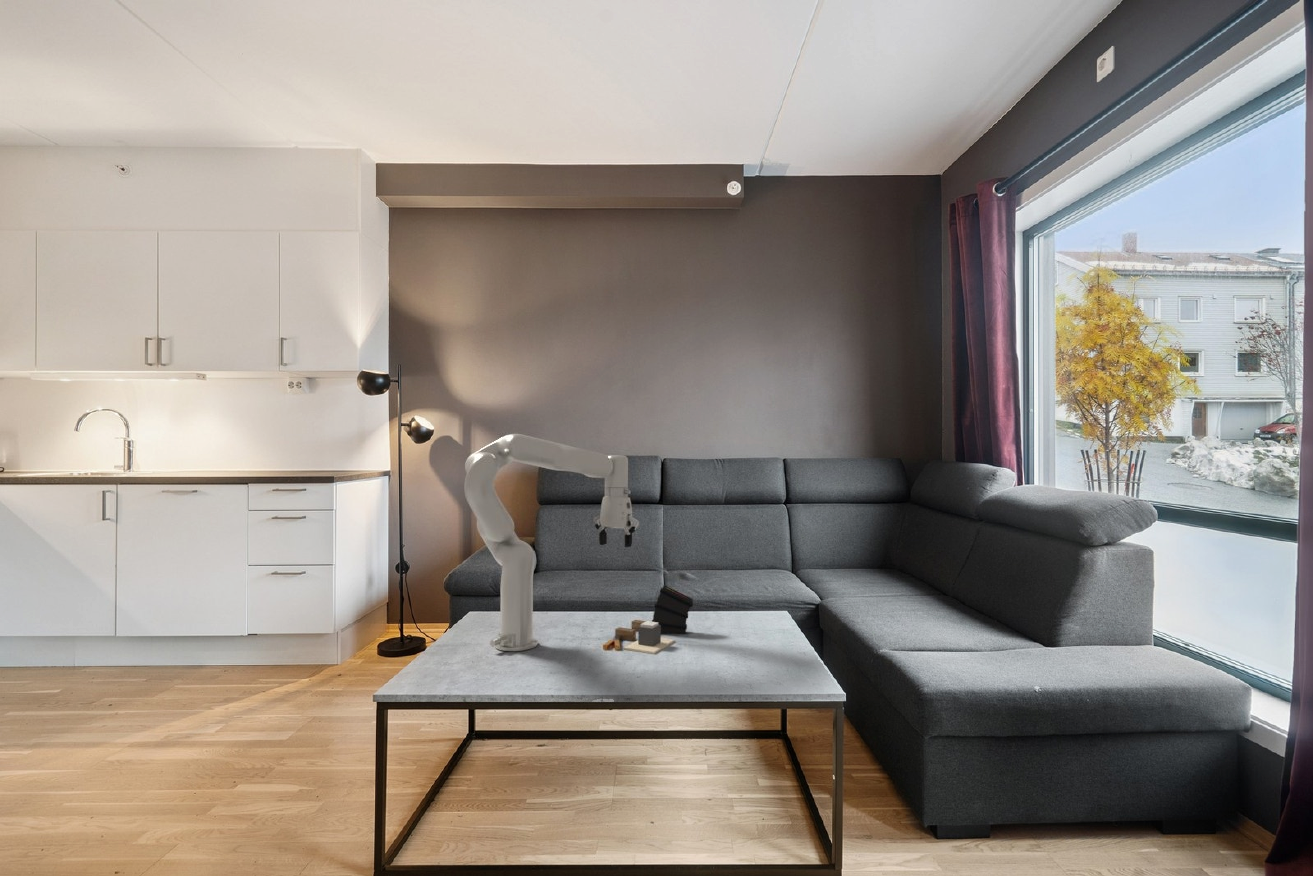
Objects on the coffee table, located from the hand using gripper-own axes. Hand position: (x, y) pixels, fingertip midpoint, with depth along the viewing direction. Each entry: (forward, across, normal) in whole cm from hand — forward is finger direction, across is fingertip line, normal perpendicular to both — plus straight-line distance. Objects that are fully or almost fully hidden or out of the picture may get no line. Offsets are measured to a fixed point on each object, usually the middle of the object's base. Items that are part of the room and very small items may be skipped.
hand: (615, 545), depth 211 cm
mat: (+28, -17, +7) cm, 34 cm away
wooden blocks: (+28, -7, -1) cm, 29 cm away
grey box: (+27, -17, +7) cm, 33 cm away
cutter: (+28, -8, +11) cm, 31 cm away
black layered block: (+28, -17, -9) cm, 34 cm away
